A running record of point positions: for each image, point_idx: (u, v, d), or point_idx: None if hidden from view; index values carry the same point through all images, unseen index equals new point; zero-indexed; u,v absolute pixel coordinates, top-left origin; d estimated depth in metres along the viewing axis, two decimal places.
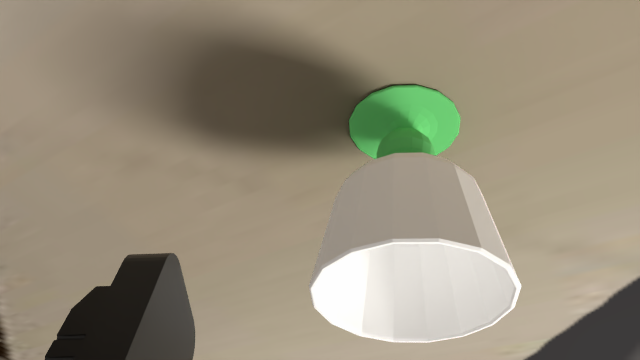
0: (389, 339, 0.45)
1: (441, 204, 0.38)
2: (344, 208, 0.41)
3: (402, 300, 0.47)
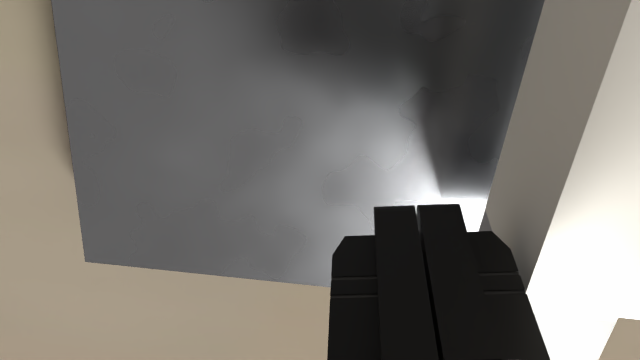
0: None
1: None
2: None
3: None
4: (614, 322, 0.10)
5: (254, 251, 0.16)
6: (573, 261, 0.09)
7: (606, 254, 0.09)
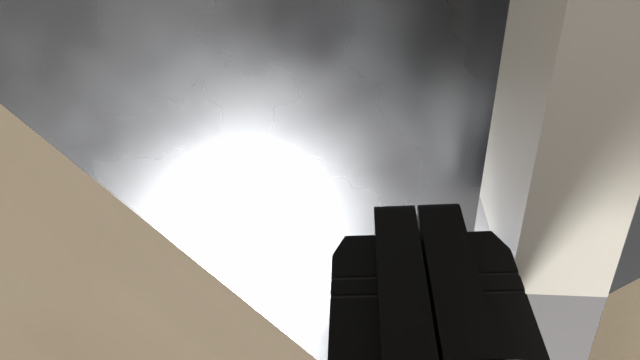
0: None
1: None
2: None
3: None
4: (605, 298, 0.10)
5: None
6: (554, 239, 0.10)
7: (586, 230, 0.09)
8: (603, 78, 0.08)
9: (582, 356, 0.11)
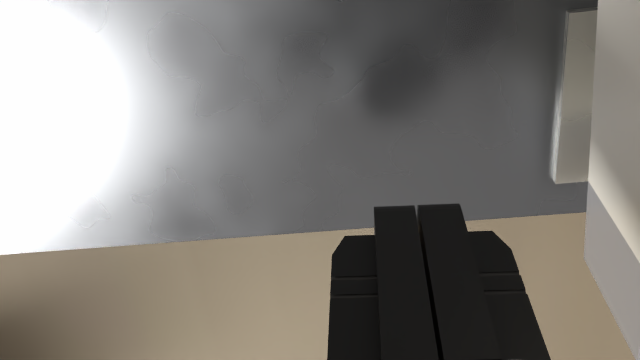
0: None
1: None
2: None
3: None
4: None
5: None
6: None
7: None
8: None
9: None
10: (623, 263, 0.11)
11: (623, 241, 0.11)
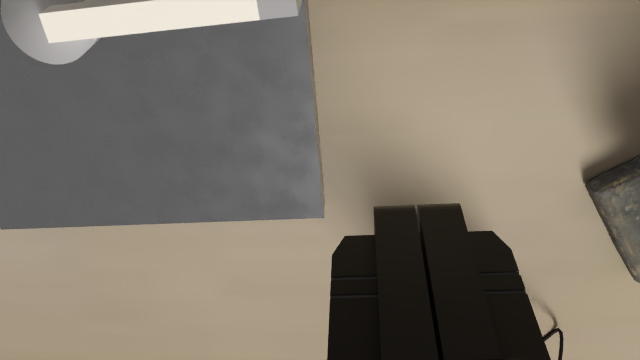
0: None
1: None
2: None
3: None
4: None
5: (54, 217, 0.45)
6: (236, 11, 0.32)
7: (231, 3, 0.31)
8: (185, 15, 0.32)
9: None
10: None
11: None
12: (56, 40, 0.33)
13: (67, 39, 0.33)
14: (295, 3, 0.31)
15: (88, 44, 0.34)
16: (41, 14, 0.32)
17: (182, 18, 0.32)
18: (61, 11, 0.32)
